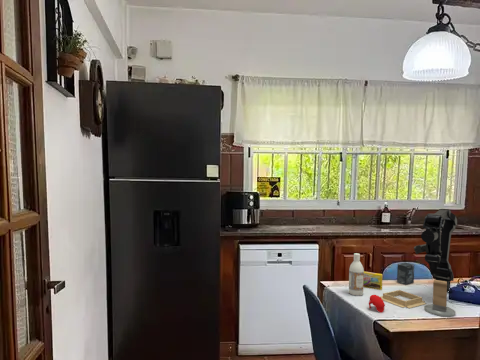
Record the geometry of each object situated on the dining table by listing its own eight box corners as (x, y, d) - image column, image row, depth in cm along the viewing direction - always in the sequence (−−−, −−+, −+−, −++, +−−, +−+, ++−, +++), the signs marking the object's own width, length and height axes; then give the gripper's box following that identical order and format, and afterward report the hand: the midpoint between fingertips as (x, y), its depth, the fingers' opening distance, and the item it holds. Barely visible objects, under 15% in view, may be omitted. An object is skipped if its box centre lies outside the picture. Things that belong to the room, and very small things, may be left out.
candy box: (349, 285, 192) (350, 269, 192) (350, 284, 194) (351, 269, 194) (381, 290, 184) (381, 274, 184) (382, 289, 185) (382, 273, 185)
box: (406, 285, 193) (406, 266, 193) (396, 282, 198) (397, 263, 198) (414, 283, 197) (414, 264, 197) (404, 280, 202) (405, 262, 202)
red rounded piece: (363, 299, 160) (368, 296, 155) (374, 294, 162) (379, 290, 157) (373, 316, 157) (378, 314, 152) (384, 310, 158) (390, 308, 153)
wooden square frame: (398, 293, 180) (398, 288, 180) (428, 303, 166) (429, 298, 166) (376, 297, 172) (376, 292, 172) (406, 309, 158) (406, 303, 158)
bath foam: (353, 296, 174) (354, 255, 173) (346, 291, 180) (346, 252, 180) (366, 295, 175) (367, 255, 175) (358, 291, 182) (359, 252, 182)
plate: (443, 306, 163) (443, 303, 162) (462, 316, 151) (462, 314, 151) (418, 306, 161) (418, 304, 161) (435, 317, 149) (435, 314, 149)
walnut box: (433, 306, 159) (434, 279, 159) (446, 308, 157) (447, 281, 157) (432, 309, 155) (433, 282, 155) (445, 312, 152) (446, 284, 152)
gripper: (417, 235, 183) (416, 265, 184) (413, 241, 167) (412, 274, 168) (441, 238, 178) (441, 269, 178) (440, 243, 162) (439, 278, 162)
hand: (432, 272), depth 171 cm, fingers open, 9 cm apart
